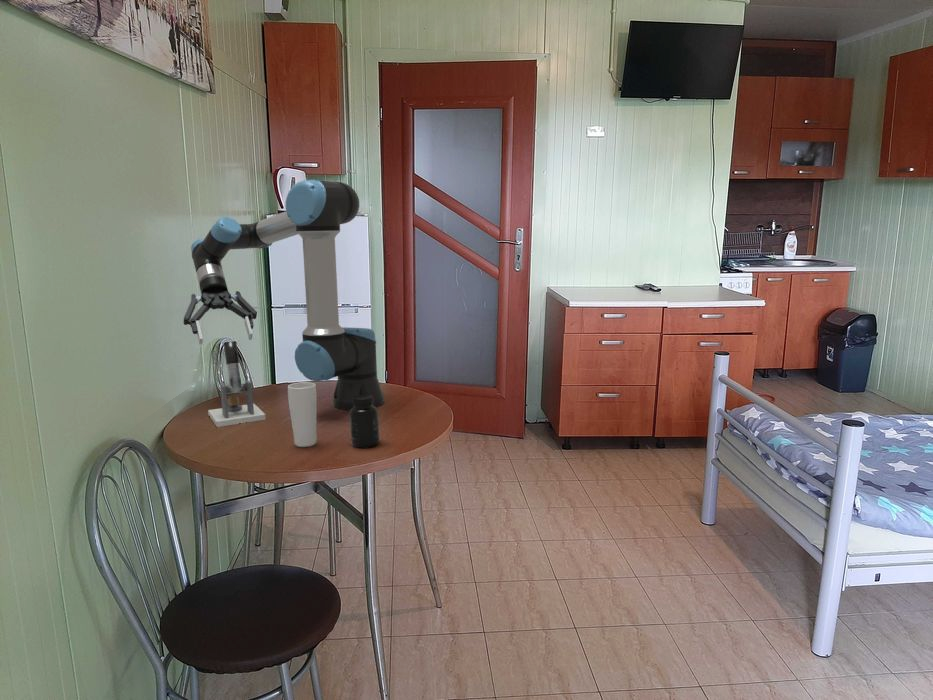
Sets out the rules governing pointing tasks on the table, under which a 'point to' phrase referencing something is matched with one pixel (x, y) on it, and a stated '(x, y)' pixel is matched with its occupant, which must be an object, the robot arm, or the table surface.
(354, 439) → the supplement bottle
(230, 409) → the nutcracker base
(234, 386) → the lever
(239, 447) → the table surface
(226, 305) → the robot arm
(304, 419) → the drinking glass
